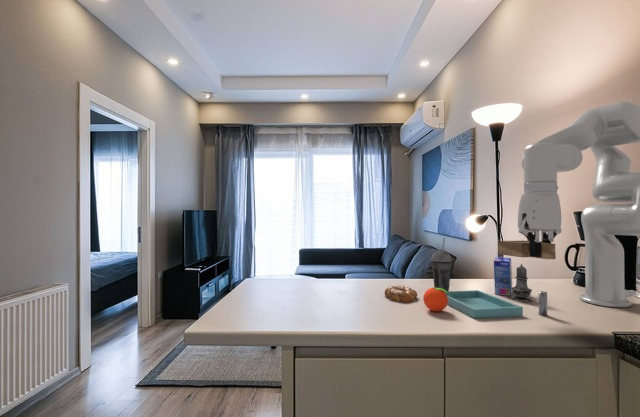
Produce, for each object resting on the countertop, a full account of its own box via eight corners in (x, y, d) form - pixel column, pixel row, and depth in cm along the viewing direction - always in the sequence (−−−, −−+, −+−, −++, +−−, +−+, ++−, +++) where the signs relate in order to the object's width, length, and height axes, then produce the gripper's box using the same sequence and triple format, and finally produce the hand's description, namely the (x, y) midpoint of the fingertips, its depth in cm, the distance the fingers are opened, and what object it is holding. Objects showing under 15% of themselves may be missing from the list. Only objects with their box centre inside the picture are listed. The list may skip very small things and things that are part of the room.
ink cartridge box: (495, 288, 125) (495, 250, 125) (512, 290, 122) (512, 251, 122) (493, 294, 116) (493, 253, 116) (511, 296, 113) (511, 254, 113)
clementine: (454, 310, 98) (454, 286, 98) (448, 316, 92) (448, 291, 92) (427, 306, 102) (426, 283, 102) (420, 312, 96) (420, 287, 96)
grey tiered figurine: (535, 302, 105) (535, 265, 106) (515, 301, 107) (515, 265, 107) (527, 298, 111) (527, 262, 111) (508, 297, 112) (508, 262, 113)
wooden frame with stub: (523, 253, 100) (523, 240, 100) (566, 258, 87) (565, 243, 87) (498, 254, 99) (497, 240, 99) (536, 259, 85) (536, 244, 85)
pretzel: (422, 304, 106) (422, 292, 106) (388, 303, 106) (388, 292, 106) (412, 294, 118) (412, 283, 118) (382, 294, 118) (382, 283, 118)
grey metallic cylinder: (543, 313, 94) (543, 291, 94) (549, 315, 92) (548, 292, 92) (537, 313, 94) (536, 291, 94) (542, 316, 92) (542, 293, 92)
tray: (478, 297, 112) (478, 290, 112) (522, 316, 92) (522, 307, 92) (437, 299, 110) (437, 291, 110) (474, 318, 90) (474, 309, 90)
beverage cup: (426, 291, 120) (426, 237, 120) (443, 290, 122) (443, 236, 122) (439, 296, 113) (439, 239, 113) (457, 295, 115) (456, 238, 115)
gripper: (553, 190, 94) (553, 254, 94) (504, 189, 92) (504, 255, 91) (578, 188, 87) (578, 257, 87) (525, 187, 84) (525, 259, 84)
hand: (540, 255), depth 89 cm, fingers closed on wooden frame with stub, 2 cm apart
